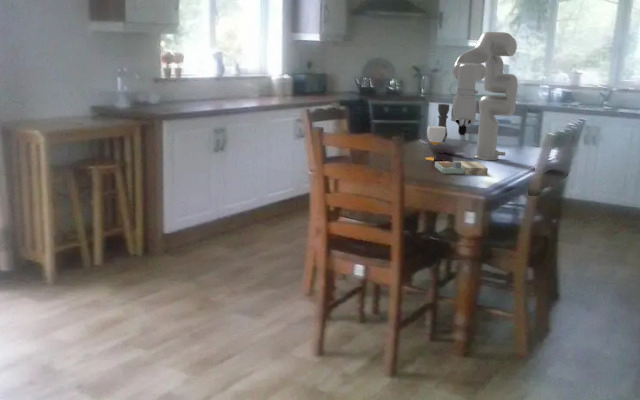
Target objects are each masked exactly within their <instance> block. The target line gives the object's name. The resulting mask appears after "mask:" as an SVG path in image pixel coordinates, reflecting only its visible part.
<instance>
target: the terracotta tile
mask: <svg viewBox="0 0 640 400" xmlns="http://www.w3.org/2000/svg"><path fill="white" fill-rule="evenodd" d="M437 162H438V163H439V164H440V165H441V166H442V167H443V168H450V165H451V163H450V162H451V161H447V160H446V161H444V160H443V161H437Z"/></svg>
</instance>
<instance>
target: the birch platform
mask: <svg viewBox="0 0 640 400" xmlns="http://www.w3.org/2000/svg"><path fill="white" fill-rule="evenodd" d="M459 161H460V160H459ZM460 162H461V167H462V168H464V174H463V175H473V176H474V175H475V176H478V175H479V176H488V167H486V166H485V165H483V164H482V163H480V162H479V161H468V160H467V161H465V160H464V161H463V160H461V161H460Z"/></svg>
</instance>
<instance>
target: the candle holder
mask: <svg viewBox="0 0 640 400" xmlns="http://www.w3.org/2000/svg"><path fill="white" fill-rule="evenodd" d="M437 111H438V114H439V115H438V116H437V118H438V125H437V126H442V127H445V128H446V133H445V137H444V139H443V142H445V143H446V141H445V140H446V139H447V137H448V129H447V119H448V118H449V116H448V113H449V111H450V104H446V103H438V105H437Z"/></svg>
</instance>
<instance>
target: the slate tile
mask: <svg viewBox="0 0 640 400" xmlns="http://www.w3.org/2000/svg"><path fill="white" fill-rule="evenodd" d="M452 162H453V168H461V162H460V160H453V161H452Z"/></svg>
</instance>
